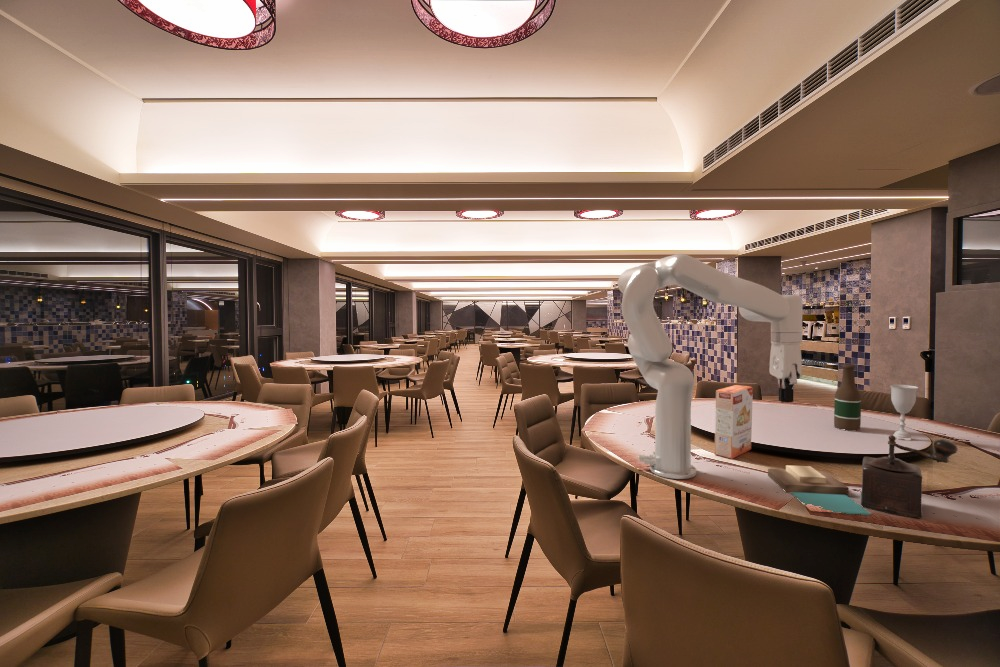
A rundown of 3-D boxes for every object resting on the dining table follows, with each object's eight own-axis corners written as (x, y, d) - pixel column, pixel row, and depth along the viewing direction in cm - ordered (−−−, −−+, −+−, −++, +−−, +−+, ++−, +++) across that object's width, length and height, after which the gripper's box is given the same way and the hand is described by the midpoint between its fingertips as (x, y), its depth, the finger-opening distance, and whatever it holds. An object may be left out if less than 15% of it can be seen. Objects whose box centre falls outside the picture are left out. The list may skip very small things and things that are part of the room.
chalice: (892, 440, 150) (894, 387, 149) (884, 434, 156) (885, 384, 155) (920, 442, 147) (922, 388, 146) (910, 436, 153) (912, 385, 152)
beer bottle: (858, 427, 166) (860, 363, 164) (862, 432, 159) (863, 366, 158) (832, 424, 170) (834, 362, 168) (835, 429, 163) (836, 365, 162)
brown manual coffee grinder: (860, 508, 102) (862, 431, 101) (861, 491, 111) (863, 421, 110) (956, 528, 92) (959, 444, 91) (948, 508, 101) (952, 431, 100)
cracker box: (733, 460, 135) (734, 392, 133) (713, 455, 139) (714, 389, 138) (753, 449, 143) (753, 386, 142) (733, 445, 148) (734, 383, 147)
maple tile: (799, 482, 113) (799, 476, 112) (785, 470, 120) (785, 465, 120) (826, 483, 111) (826, 477, 111) (810, 471, 119) (810, 466, 119)
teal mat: (810, 511, 101) (810, 510, 101) (790, 493, 111) (790, 491, 111) (870, 515, 99) (870, 513, 99) (845, 496, 109) (845, 494, 108)
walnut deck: (785, 492, 111) (785, 484, 111) (768, 475, 122) (768, 468, 122) (848, 495, 109) (848, 487, 109) (824, 478, 120) (824, 471, 119)
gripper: (761, 336, 134) (761, 396, 135) (783, 340, 119) (783, 407, 121) (788, 336, 133) (788, 396, 134) (814, 340, 118) (813, 407, 119)
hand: (785, 401), depth 127 cm, fingers closed
